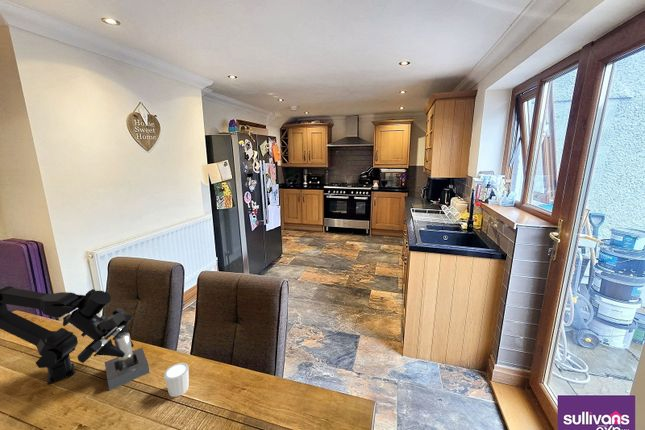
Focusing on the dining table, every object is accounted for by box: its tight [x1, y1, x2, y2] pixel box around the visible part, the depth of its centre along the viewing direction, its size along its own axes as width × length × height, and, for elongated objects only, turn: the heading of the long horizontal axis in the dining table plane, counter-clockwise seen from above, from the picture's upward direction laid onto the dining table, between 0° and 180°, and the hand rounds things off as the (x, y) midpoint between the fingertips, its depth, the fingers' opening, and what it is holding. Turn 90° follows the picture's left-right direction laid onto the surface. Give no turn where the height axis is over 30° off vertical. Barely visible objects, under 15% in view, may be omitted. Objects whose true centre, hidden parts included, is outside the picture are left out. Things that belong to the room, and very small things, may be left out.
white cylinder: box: [163, 362, 190, 398], centre depth 86 cm, size 7×7×7 cm
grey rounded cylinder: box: [113, 332, 135, 372], centre depth 92 cm, size 4×4×12 cm
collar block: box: [104, 347, 150, 391], centre depth 93 cm, size 11×11×4 cm
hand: (128, 351), depth 92 cm, fingers closed on grey rounded cylinder, 4 cm apart
